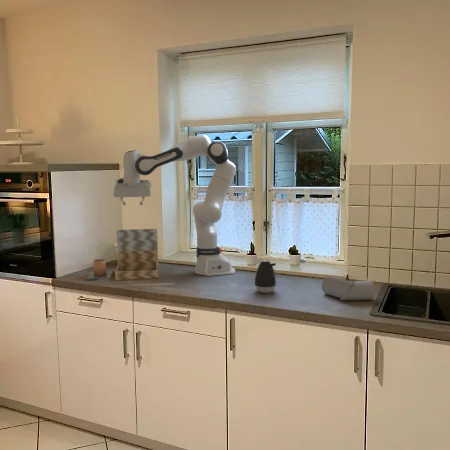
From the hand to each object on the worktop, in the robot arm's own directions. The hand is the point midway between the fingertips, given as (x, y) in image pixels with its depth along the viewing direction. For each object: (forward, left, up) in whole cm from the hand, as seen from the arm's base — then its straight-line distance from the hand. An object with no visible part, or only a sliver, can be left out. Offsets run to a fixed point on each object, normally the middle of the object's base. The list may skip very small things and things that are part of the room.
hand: (132, 205), depth 263 cm
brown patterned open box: (-2, +14, -37) cm, 40 cm away
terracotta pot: (+18, +12, -36) cm, 42 cm away
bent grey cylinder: (-97, +70, -38) cm, 125 cm away
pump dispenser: (-63, +55, -37) cm, 92 cm away
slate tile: (+18, +12, -37) cm, 43 cm away
